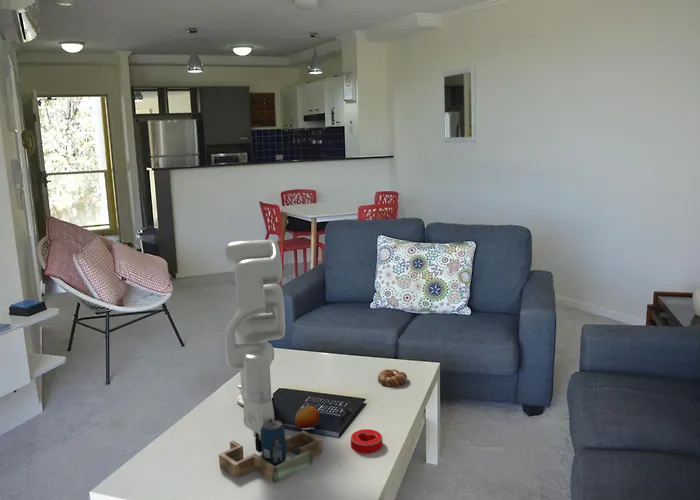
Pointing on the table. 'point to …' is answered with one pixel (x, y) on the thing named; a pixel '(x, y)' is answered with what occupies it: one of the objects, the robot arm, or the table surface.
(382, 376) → the pretzel
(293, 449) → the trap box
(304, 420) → the fruit
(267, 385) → the robot arm
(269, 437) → the soda can
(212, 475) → the table surface
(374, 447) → the decorative ornament
